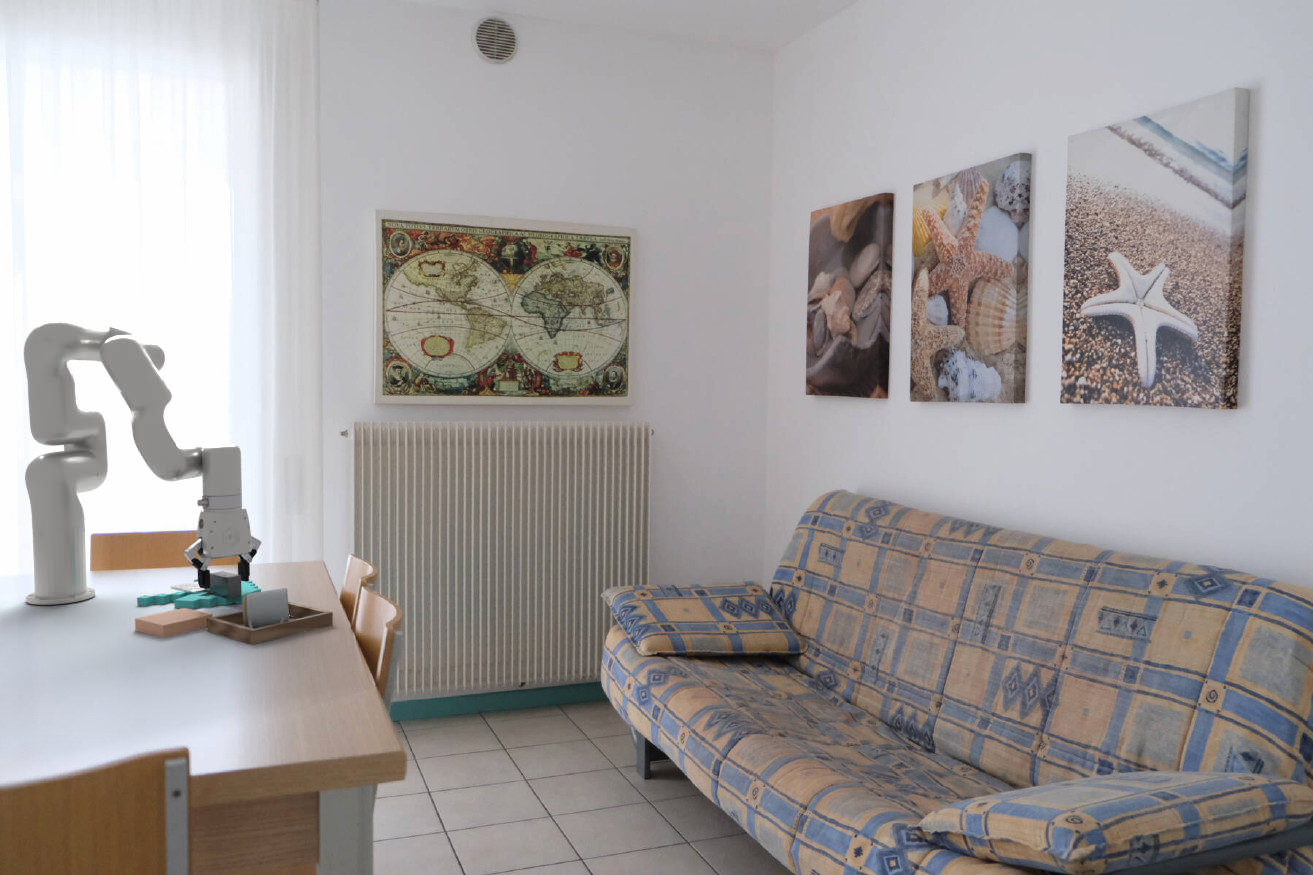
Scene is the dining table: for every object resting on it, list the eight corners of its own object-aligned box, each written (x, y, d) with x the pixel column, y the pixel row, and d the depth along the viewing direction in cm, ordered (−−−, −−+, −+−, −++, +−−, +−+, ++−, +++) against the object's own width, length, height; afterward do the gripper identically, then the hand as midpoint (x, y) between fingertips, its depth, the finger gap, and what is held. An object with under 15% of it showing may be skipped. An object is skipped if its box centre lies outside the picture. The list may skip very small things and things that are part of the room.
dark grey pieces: (250, 594, 204) (249, 573, 204) (219, 600, 198) (218, 579, 198) (201, 582, 215) (200, 563, 214) (170, 588, 209) (170, 568, 209)
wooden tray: (206, 631, 181) (206, 618, 181) (287, 613, 195) (286, 601, 195) (252, 644, 172) (252, 630, 172) (332, 624, 186) (332, 612, 186)
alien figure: (137, 608, 200) (222, 613, 197) (137, 597, 200) (221, 602, 196) (200, 587, 220) (279, 591, 216) (200, 577, 220) (278, 582, 216)
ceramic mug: (243, 626, 185) (243, 587, 184) (289, 622, 188) (288, 584, 187) (242, 641, 175) (241, 600, 174) (290, 637, 178) (289, 596, 177)
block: (135, 618, 181) (162, 625, 176) (184, 607, 190) (212, 614, 185) (135, 632, 181) (163, 639, 177) (184, 621, 190) (212, 627, 185)
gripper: (192, 508, 193) (194, 594, 194) (270, 500, 207) (271, 579, 208) (172, 505, 197) (174, 589, 198) (250, 497, 211) (252, 575, 212)
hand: (224, 583), depth 203 cm, fingers open, 8 cm apart
